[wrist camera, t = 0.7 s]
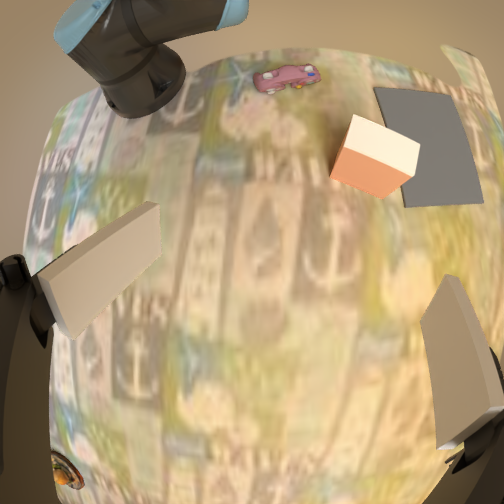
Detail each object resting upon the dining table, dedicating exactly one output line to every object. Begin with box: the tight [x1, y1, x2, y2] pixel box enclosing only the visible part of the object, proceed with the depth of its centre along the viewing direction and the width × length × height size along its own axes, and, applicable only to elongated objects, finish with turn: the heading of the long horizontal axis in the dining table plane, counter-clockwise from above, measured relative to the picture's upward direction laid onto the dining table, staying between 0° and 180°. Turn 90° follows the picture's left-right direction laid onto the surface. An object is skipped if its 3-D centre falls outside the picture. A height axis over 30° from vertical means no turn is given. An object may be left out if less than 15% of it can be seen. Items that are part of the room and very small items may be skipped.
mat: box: [373, 87, 484, 208], centre depth 34 cm, size 20×16×1 cm
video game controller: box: [253, 64, 321, 94], centre depth 35 cm, size 10×5×7 cm, turn 103°
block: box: [329, 114, 420, 199], centre depth 30 cm, size 4×8×11 cm, turn 68°
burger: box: [51, 451, 85, 490], centre depth 36 cm, size 12×12×8 cm
